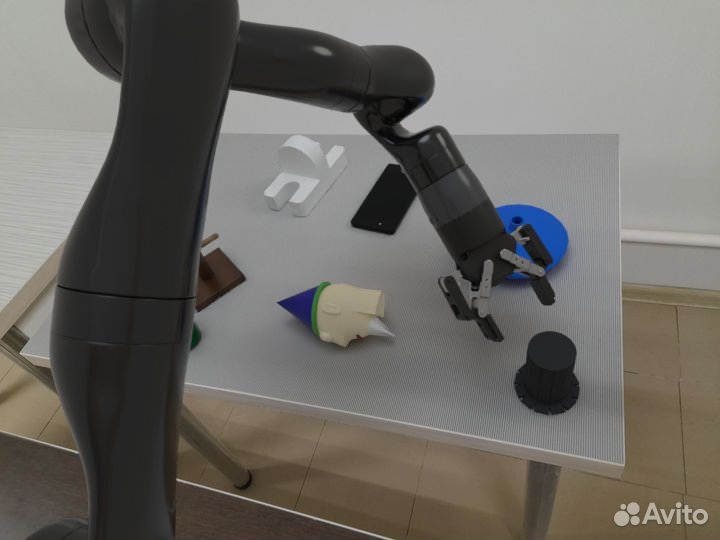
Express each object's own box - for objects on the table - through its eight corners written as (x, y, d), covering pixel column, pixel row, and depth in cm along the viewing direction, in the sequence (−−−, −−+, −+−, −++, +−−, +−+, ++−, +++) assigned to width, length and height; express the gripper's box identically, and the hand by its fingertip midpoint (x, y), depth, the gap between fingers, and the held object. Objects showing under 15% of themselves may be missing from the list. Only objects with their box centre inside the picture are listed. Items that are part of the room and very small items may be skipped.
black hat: (551, 427, 66) (557, 393, 60) (501, 385, 71) (502, 350, 64) (592, 386, 69) (602, 350, 62) (541, 349, 73) (546, 311, 67)
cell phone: (429, 172, 103) (429, 168, 103) (393, 235, 94) (392, 231, 93) (389, 166, 107) (388, 162, 106) (350, 226, 97) (349, 222, 97)
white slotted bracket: (350, 161, 111) (339, 117, 103) (306, 217, 102) (290, 174, 94) (312, 154, 115) (299, 111, 107) (267, 208, 106) (249, 165, 98)
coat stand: (196, 313, 90) (139, 231, 76) (174, 282, 97) (116, 202, 82) (247, 278, 94) (202, 194, 79) (222, 251, 100) (176, 168, 85)
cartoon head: (400, 354, 80) (281, 337, 86) (408, 294, 82) (290, 280, 87) (388, 354, 72) (258, 334, 78) (397, 286, 73) (268, 272, 79)
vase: (566, 291, 79) (572, 260, 74) (461, 284, 84) (459, 254, 78) (566, 219, 89) (571, 187, 83) (472, 216, 93) (471, 185, 88)
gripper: (425, 235, 59) (496, 356, 60) (519, 175, 62) (585, 291, 63) (403, 242, 66) (467, 351, 67) (488, 189, 69) (548, 292, 71)
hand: (524, 322), depth 65 cm, fingers open, 8 cm apart
